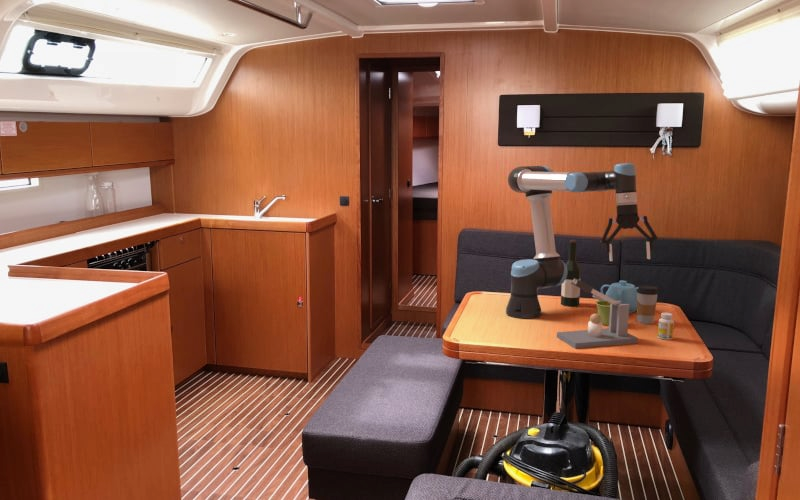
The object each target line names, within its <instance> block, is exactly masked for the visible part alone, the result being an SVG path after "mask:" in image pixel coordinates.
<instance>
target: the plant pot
mask: <svg viewBox="0 0 800 500" xmlns="http://www.w3.org/2000/svg"><path fill="white" fill-rule="evenodd" d="M595 305H596V308H597V314H599V315H600V317H601V321H600V322H602V326H607V327H609V320H610V303H609V302H607V301H603V302H602V301H599V300H596V301H595Z"/></svg>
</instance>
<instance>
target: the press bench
mask: <svg viewBox="0 0 800 500" xmlns="http://www.w3.org/2000/svg"><path fill="white" fill-rule="evenodd" d="M617 302H619V303H622V301H617ZM629 315H630V314H629V304H618V307H616V306H615V305H613V304H611V303H610V320H609V325H608V327H607V328H603V325H602V322H600V321H601V317H600V315H599V314H598V313H597V312H596V313H592V314H591V315H590V317H589V321H588V323H587V329H581V330H571V331H558V332H556V338H557V339H559V340H561V341H563V342H564V343H566V344H567V345H569V346H570V347H572V348H574V349H586V348H587V349H588V348H598V347H606V346H608V347H610V346H619V345H621V346H622V345H632V344H639V338H638V337H637V336H635V335H633V334H631V333H629V332H628V331H629Z"/></svg>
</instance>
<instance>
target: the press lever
mask: <svg viewBox="0 0 800 500" xmlns="http://www.w3.org/2000/svg"><path fill="white" fill-rule="evenodd" d="M571 284H573V285H575V286H577V287H578V288H580V290H583V291H584V292H587V293H588V294H592V298H594V299H596V300H597V301H599V300H600V301H602V302H603V300H605V301H607V302H609V303H611V304H613V305H615V306H616V307H618V304H621V303H619V302H617V301H615V300H613V299H611V298H610V297H608V296H606V294H605V293H604V294H602V293H601V291H598V290H597V289H594V287H593V286H592V285H589V284H588V283H585V282H584V281H583V280H578V279H576V278H574V279H573V280H572V282H571Z"/></svg>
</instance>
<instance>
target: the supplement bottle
mask: <svg viewBox="0 0 800 500" xmlns="http://www.w3.org/2000/svg"><path fill="white" fill-rule="evenodd" d="M673 315H674V314H672V313H670V312H661V315H660V316H661V318H659V319H658V326H657V338H658V339H660V340H665V341H670V340H672V339H673V337H674V336H673V335H674V327H675V326H674V325H675V321H674V319H673V317H674V316H673Z"/></svg>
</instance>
